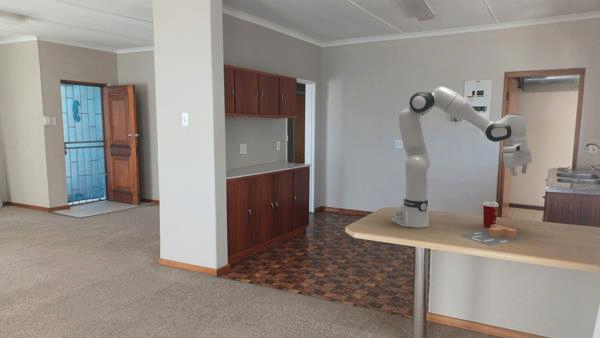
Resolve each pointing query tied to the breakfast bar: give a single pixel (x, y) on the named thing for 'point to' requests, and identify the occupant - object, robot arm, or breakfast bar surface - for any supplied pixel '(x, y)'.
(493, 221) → the paper cup
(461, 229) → the breakfast bar surface
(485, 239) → the board
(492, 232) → the t block
